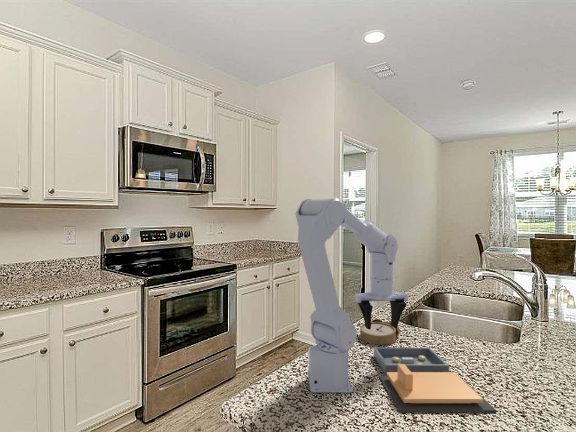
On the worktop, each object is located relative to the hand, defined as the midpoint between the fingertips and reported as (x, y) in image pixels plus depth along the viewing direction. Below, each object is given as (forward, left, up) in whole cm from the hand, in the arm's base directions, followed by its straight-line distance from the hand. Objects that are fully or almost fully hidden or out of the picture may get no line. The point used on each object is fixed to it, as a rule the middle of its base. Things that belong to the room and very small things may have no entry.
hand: (381, 327), depth 91 cm
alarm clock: (+5, +18, -10) cm, 22 cm away
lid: (+7, -16, -8) cm, 19 cm away
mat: (+7, -16, -9) cm, 20 cm away
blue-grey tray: (+7, -2, -9) cm, 12 cm away
